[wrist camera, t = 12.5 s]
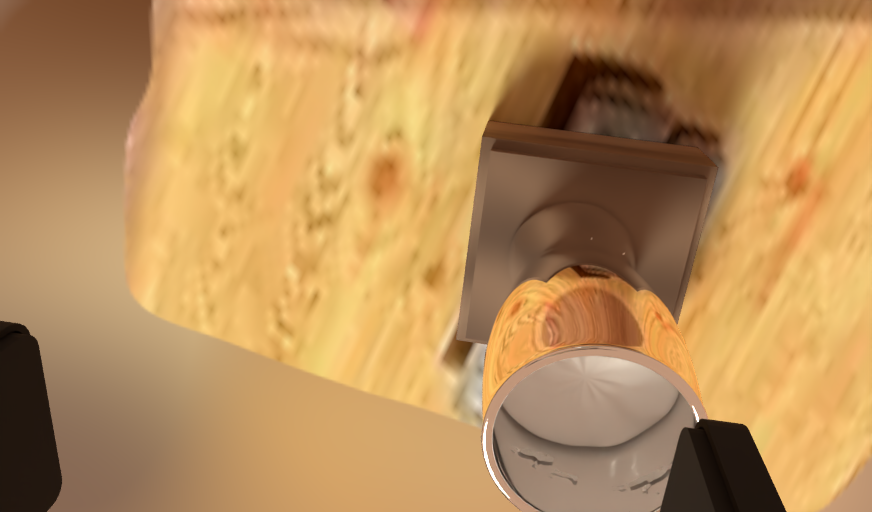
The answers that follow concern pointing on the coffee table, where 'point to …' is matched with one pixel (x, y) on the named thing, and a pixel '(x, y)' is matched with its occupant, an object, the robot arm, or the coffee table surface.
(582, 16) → the coffee table surface
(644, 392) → the beer glass
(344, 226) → the coffee table surface
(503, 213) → the plinth
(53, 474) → the robot arm
